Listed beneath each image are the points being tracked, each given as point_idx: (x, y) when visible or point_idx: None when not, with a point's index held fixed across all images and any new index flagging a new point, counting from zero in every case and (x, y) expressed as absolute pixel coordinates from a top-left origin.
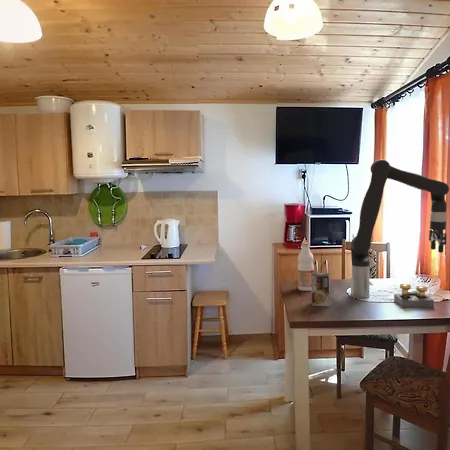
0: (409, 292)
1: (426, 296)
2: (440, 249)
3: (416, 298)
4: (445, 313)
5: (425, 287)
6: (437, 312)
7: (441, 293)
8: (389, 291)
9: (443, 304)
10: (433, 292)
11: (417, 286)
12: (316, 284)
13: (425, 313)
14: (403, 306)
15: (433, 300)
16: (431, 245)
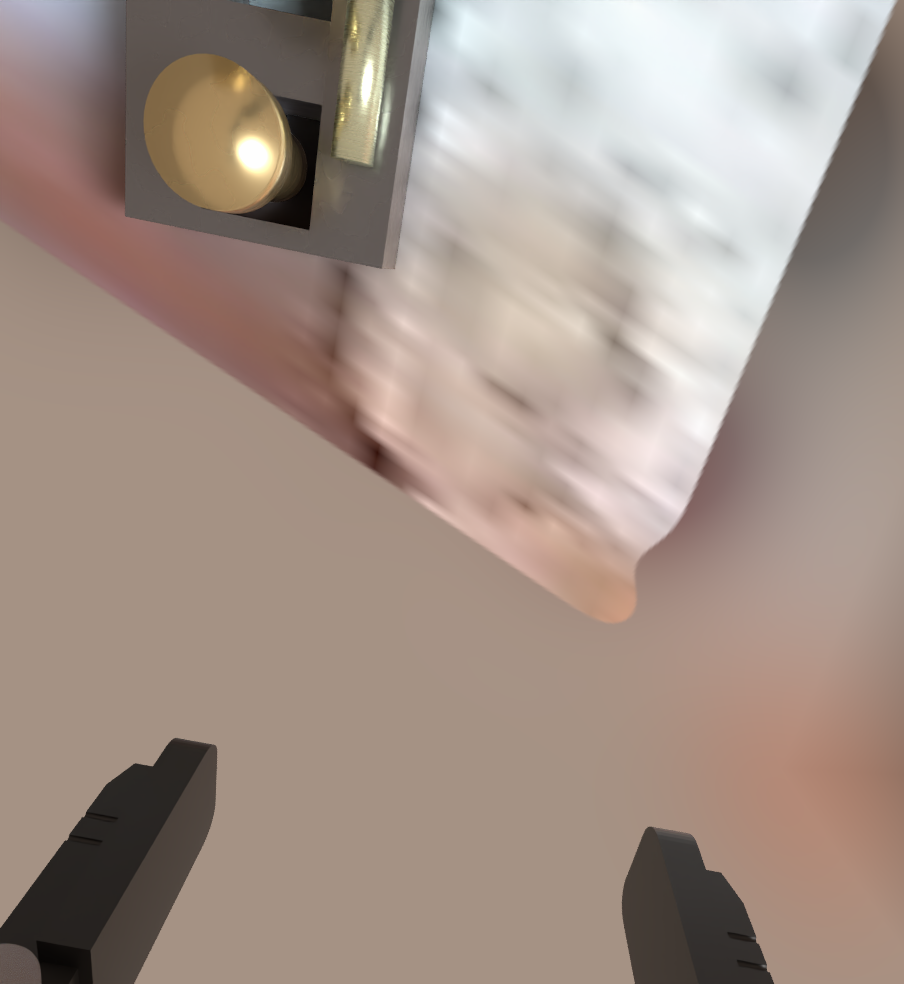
0: (344, 39)
1: (263, 223)
2: (83, 817)
3: (200, 50)
4: (18, 232)
5: (188, 177)
6: (44, 176)
7: (568, 567)
8: (827, 90)
9: (263, 379)
10: (618, 524)
11: (249, 93)
12: None
13: (13, 32)
14: None
15: (125, 212)
16: (686, 943)
